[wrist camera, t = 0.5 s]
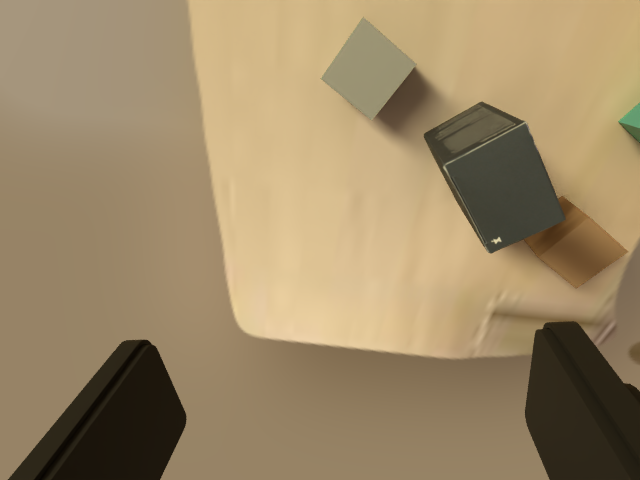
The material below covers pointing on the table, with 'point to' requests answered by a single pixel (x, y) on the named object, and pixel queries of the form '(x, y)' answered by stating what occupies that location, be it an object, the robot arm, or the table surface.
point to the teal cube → (632, 122)
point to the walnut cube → (575, 246)
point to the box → (495, 175)
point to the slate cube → (368, 69)
